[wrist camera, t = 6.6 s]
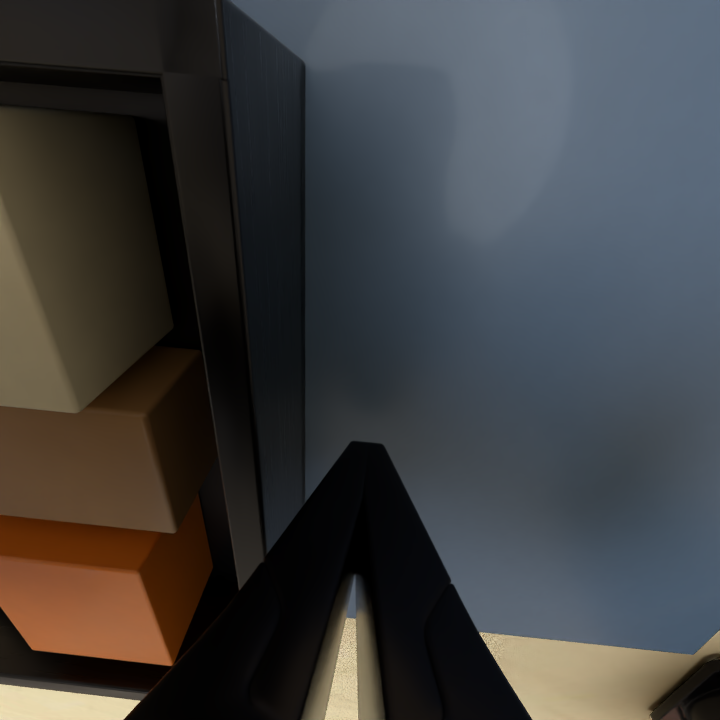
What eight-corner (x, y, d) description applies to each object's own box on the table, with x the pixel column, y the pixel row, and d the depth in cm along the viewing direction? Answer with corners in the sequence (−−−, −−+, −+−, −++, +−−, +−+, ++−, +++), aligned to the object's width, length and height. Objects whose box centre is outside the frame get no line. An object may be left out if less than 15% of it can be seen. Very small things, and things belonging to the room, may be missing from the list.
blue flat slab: (660, 597, 15) (700, 666, 13) (68, 536, 16) (23, 593, 14) (1166, -18, 6) (1523, -86, 4) (-252, -101, 7) (-509, -194, 5)
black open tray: (305, 582, 13) (280, 717, 10) (43, 553, 13) (-59, 677, 10) (305, 60, 6) (219, -13, 3) (-260, 15, 6) (-880, -94, 3)
